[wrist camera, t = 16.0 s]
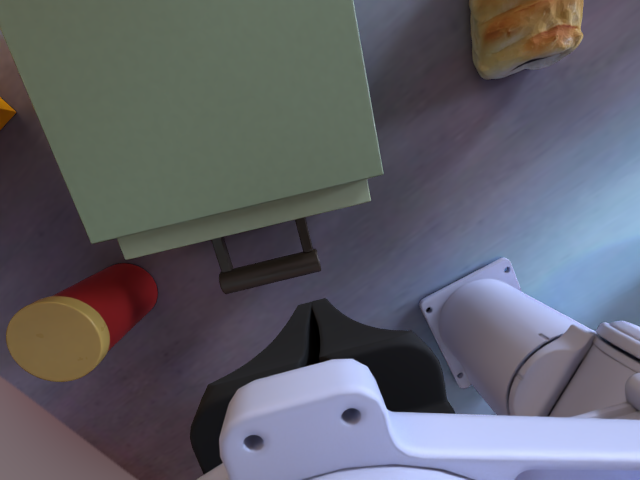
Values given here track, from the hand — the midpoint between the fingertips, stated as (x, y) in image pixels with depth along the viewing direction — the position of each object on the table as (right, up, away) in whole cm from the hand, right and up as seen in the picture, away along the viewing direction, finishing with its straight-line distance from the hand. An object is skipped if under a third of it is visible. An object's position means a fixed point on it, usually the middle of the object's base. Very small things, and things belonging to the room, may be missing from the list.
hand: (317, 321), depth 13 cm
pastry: (+13, +19, +8) cm, 24 cm away
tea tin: (-14, 0, +10) cm, 17 cm away
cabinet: (-6, +13, +7) cm, 16 cm away
